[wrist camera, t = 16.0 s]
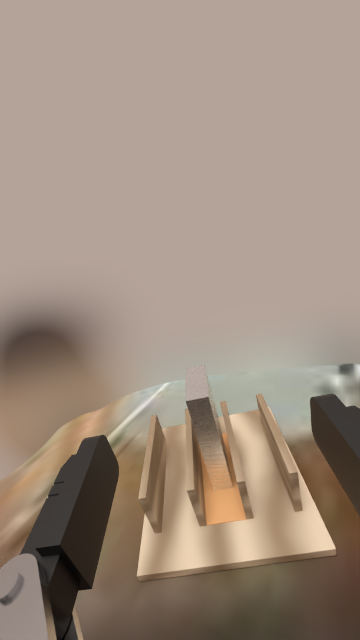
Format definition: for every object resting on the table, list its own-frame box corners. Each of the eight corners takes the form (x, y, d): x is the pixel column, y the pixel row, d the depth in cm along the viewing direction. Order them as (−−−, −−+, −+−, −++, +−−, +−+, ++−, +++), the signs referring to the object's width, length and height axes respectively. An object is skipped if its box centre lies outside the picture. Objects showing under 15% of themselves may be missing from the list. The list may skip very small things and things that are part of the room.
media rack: (140, 581, 26) (116, 540, 23) (157, 434, 43) (145, 402, 41) (336, 555, 24) (333, 507, 21) (270, 412, 41) (264, 377, 39)
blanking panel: (213, 490, 31) (185, 401, 26) (209, 449, 36) (185, 369, 32) (232, 487, 31) (208, 396, 26) (225, 446, 36) (204, 365, 31)
